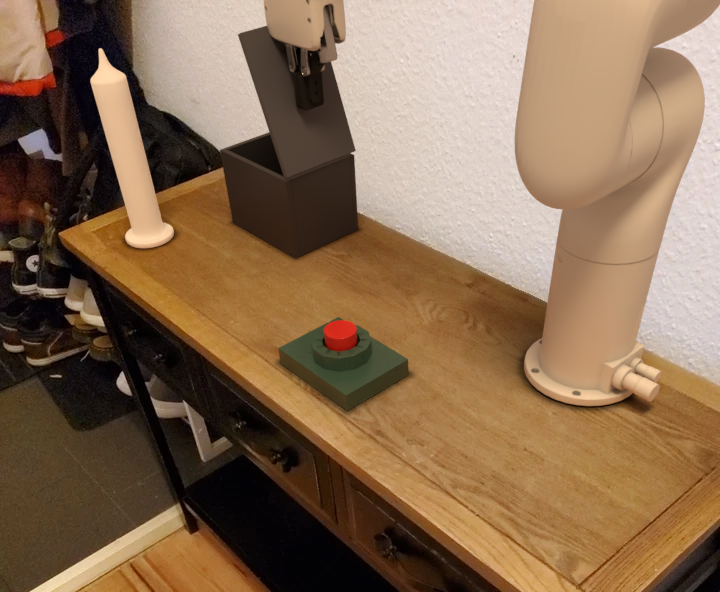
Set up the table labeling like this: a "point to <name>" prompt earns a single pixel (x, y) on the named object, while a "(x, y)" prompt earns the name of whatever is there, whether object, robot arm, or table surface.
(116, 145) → the candle
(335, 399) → the control block
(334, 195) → the open storage bin
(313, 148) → the lid
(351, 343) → the red button
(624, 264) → the robot arm
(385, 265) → the table surface
